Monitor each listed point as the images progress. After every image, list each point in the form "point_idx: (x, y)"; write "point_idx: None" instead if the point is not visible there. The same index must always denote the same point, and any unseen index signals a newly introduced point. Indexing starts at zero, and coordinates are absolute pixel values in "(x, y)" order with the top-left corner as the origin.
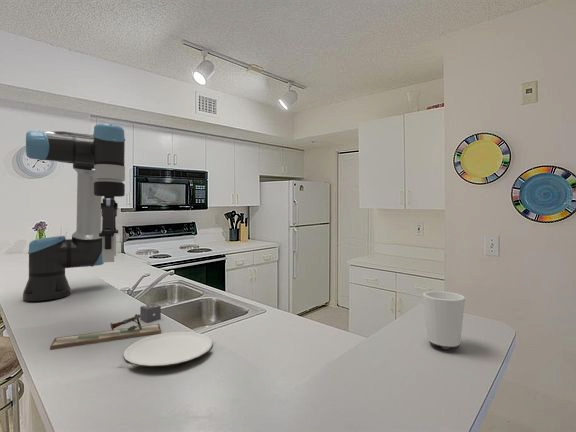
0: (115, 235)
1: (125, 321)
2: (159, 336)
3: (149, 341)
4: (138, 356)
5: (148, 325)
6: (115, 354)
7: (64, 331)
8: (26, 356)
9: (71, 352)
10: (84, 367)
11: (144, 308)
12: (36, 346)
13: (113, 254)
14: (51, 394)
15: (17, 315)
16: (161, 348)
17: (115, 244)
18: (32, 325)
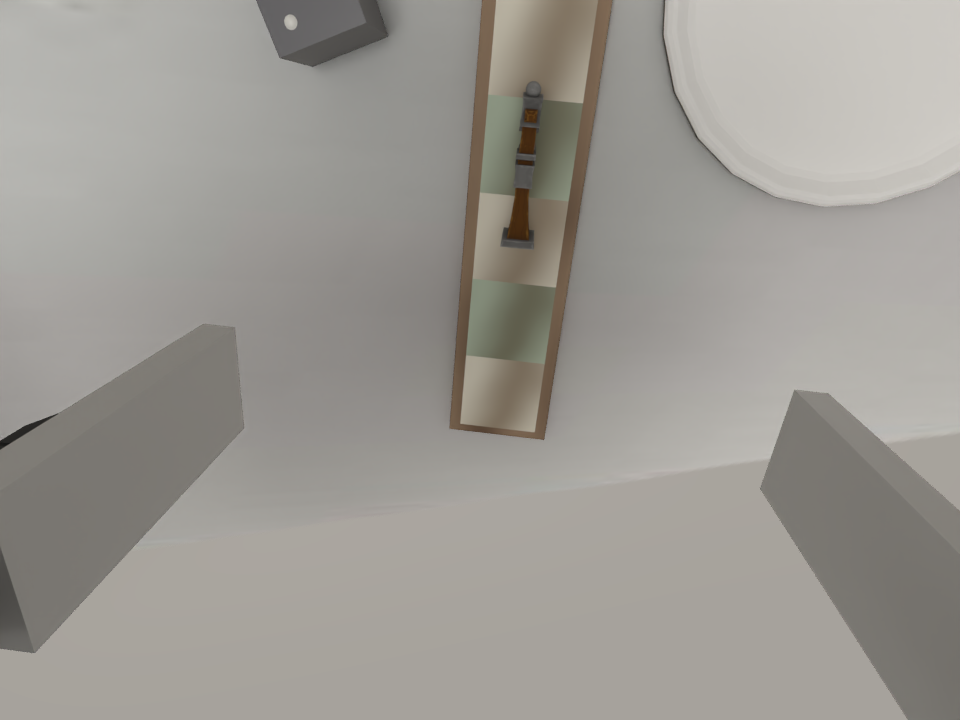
0: (21, 486)
1: (531, 175)
2: (683, 6)
3: (703, 69)
4: (859, 145)
5: (482, 39)
6: (757, 231)
7: (341, 396)
8: (566, 487)
9: (619, 373)
10: (807, 336)
11: (333, 36)
12: (479, 469)
13: (874, 444)
14: (947, 416)
15: None
16: (843, 26)
17: (146, 397)
18: (206, 493)
